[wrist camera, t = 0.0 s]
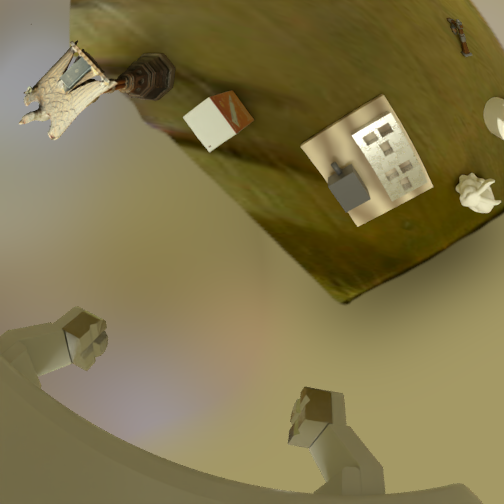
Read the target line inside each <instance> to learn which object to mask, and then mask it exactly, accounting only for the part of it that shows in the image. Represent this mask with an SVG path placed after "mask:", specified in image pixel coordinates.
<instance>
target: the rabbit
mask: <svg viewBox="0 0 504 504" xmlns="http://www.w3.org/2000/svg"><path fill="white" fill-rule="evenodd" d="M459 182H460V183H459V184H458V185H457V186H456V191H457V192H458V193H460V201H461V204H462V205H463V206H467V207H469V208H471V209H472V210H473V211H475V212H480V213H489V212H490V211H491V210H492V208H493V206H494V205H498V204H500V202H501V201H500V200H494V196H493V193H492V190H491V188H490V185H491V184H492V183H494V182H495V180H493V179H487V180H484V179H483V178H477V177H476V176H475V174H474V173H470V174H469V175H468V176H466V175H461V176H460V177H459Z"/></svg>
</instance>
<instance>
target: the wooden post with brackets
mask: <svg viewBox="0 0 504 504" xmlns="http://www.w3.org/2000/svg"><path fill="white" fill-rule="evenodd" d="M447 20H448V21H449V22H450V23H451V24H452V27H451V28H452V32H454V34H455V35H456V34H457V29H458V31H459V33H458V34H459V37H460V41H461V43H462V49H463V51H462V52H461V54H463V55H464V56H466V57H467V56H471V55H472V53H470V52H469V50H468V47H467V45H466V39H465V36H464V35H465V34H464V33H463V29H462V28H463V26H462V23H461V22H460V21H459V20H458V19H457V20H456V21H454V20H453V19H450V18H447ZM453 24H454V25H455V26H456V27H455V26H454V25H453ZM456 28H457V29H456Z"/></svg>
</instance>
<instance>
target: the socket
mask: <svg viewBox="0 0 504 504" xmlns="http://www.w3.org/2000/svg"><path fill="white" fill-rule="evenodd" d="M386 123H388V125H389V126H390V128H391V129H389V130H387V131H385V132H384V133H382V134H380V133H379V131H378V130H377V128H379V127H381V126H383V125H384V124H386ZM372 131H374V133H375V135H376V136H377V137H375V138H373V139H372V140H370V141H368V142H365V140H364V139H363V137H364V136H365V135H367V134H369V133H371V132H372ZM351 135H352V137H353V138H354V140H355V141H356V143H357V144H358V146H359V147H360V149H361V150H362V152H363V153H364V155H365V157H366V158H367V160H368V161H369V163H370V165H371V166H372V168H373V169H374V171H375V173H376V174H377V176H378V178H379V179H380V181H381V183H382V185H383V186H384V188H385V190H386V192H387V193H388V195H389V197H390V199H391V201H394V200H396V199H398V198H400V197H402V196H403V195H405V194H407V193H409V192H411V191H413V190H415V189H416V188H418V187H420V186H422V185H424V184H426V183H428V181H427V179H426V177H425V175H424V173H423V171H422V168H421V166H420V164H419V162H418V160H417V158H416V156H415V154H414V152H413V151H412V149H411V147H410V145H409V143H408V141H407V139H406V138H405V136H404V134H403V132H402V130H401V129H400V127H399V125H398V124H397V122H396V120H395V119H394V117H393V115H392V114H391V112H389V111H386V112H385V113H383V114H381V115H380V116H378V117H376V118H374V119H373V120H371V121H369V122H368V123H366V124H364V125H363V126H361V127H359V128H358V129H356V130H354V131H353V132H351ZM385 141H388V143H389V145H390V147H391V148H390V149H389V150H387V151H385V152H383V151H382V150H381V148H380V146H379V145H380V144H382V143H383V142H385ZM407 160H409V162H410V164H409V165H407V166H405V167H403V168H401V169H400V167H399V166H398V165H400V164H402V163H404V162H406V161H407ZM393 168H396V170H397V171H396V172H394V173H392V174H391V175H389V176H387V177H386V175H385V173H386V172H388V171H389V170H391V169H393ZM405 177H407V178H408V180H409V182H408V183H406V184H404V185H403V186H402V185H401V183H400V181H399V180H401V179H403V178H405Z"/></svg>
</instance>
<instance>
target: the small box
mask: <svg viewBox="0 0 504 504" xmlns="http://www.w3.org/2000/svg"><path fill="white" fill-rule="evenodd" d="M183 118H184V120H185V121H186V122H187V124H188V125H189V126H190V128H191V129H192V131H193V132H194V134H195V135H196V136H197V138H198V139H199V140H200V141H201V142H202V144H203V145H204V146H205V147H206V149H207V150H208V151H209V152H211V151H212V150H214V149H215V148H216V147H218V146H219V145H221V144H222V143H224V142H225V141H227V140H228V139H230V138H231V137H233V136H234V135H236V134H237V133H238V132H240V131H241V130H242V129H244V128H245V127H246V126H248V125H249V124H250V123H251V122H253V121H254V119H253V117H252V116H251V115H250V113H249V112H248V111H247V109H246V108H245V107H244V105H243V104H242V103H241V101H240V100H239V98H238V97H237V96H236V94H235V93H234V91H233V90H232V91H228V92H224V93H221V94H217V95H214V96H211V97H208V98H207V99H206V100H204V101H203V102H202V103H200V104H199V105H198V106H196V107H195V108H194V109H192V110H191V111H190V112H188V113H187V114H186V115H185V116H183Z"/></svg>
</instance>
